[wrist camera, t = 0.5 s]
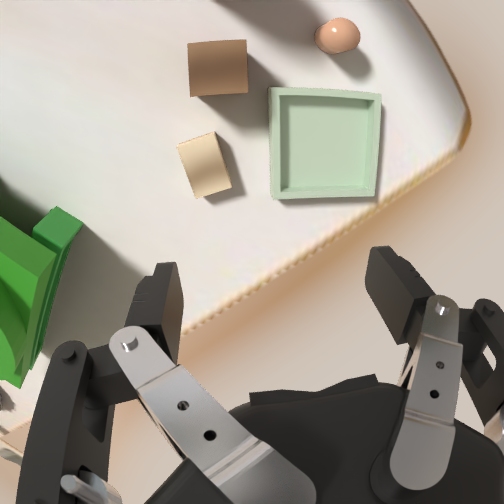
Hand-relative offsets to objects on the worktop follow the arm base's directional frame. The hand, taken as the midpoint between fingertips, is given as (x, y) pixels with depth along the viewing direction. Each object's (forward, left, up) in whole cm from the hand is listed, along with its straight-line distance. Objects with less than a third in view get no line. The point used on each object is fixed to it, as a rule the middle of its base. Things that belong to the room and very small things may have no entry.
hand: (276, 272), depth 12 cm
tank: (+13, -41, -24) cm, 49 cm away
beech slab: (+1, -4, -24) cm, 24 cm away
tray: (-1, +9, -23) cm, 25 cm away
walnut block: (-9, -2, -23) cm, 25 cm away
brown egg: (-13, +10, -23) cm, 29 cm away
